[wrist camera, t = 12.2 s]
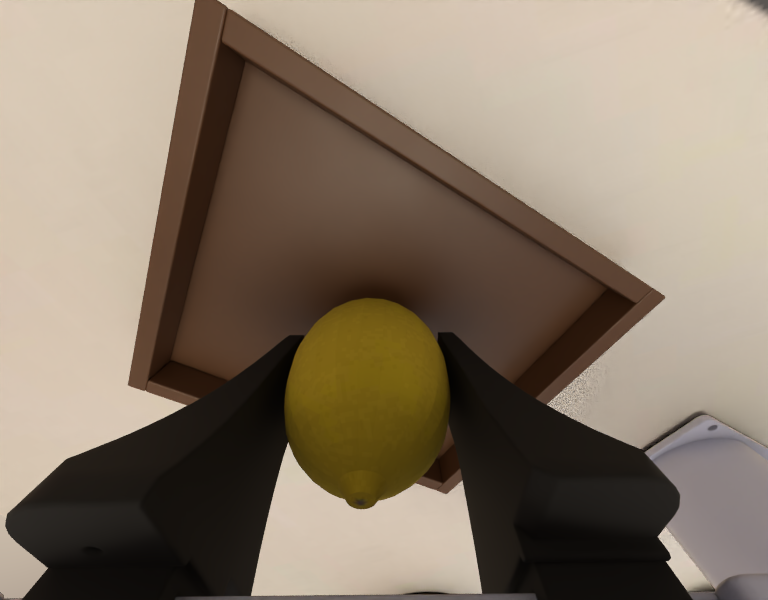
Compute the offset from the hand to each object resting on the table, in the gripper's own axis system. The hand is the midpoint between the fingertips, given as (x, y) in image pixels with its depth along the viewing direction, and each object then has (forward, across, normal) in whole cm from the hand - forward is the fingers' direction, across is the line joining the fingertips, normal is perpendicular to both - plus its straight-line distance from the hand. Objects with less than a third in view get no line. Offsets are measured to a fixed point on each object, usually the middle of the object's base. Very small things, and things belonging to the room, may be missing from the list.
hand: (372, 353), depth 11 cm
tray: (+3, 0, 0) cm, 3 cm away
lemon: (+2, 0, 0) cm, 2 cm away
